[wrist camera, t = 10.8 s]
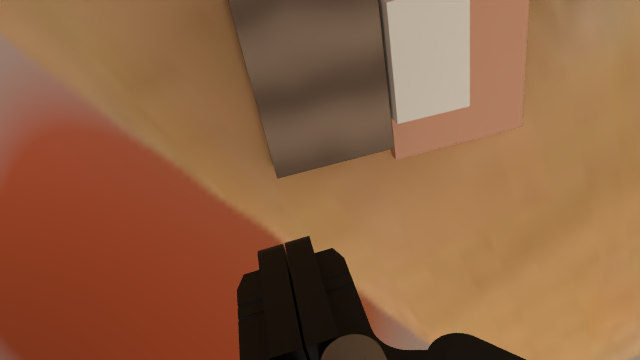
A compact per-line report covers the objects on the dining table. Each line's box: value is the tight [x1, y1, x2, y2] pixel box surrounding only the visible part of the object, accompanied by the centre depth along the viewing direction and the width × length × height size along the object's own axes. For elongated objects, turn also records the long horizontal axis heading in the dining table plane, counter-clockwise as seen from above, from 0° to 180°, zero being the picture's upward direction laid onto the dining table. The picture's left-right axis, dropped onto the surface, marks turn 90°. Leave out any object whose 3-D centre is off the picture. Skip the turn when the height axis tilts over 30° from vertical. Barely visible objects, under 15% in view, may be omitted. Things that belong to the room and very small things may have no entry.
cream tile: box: [378, 0, 470, 124], centre depth 32 cm, size 9×6×2 cm, turn 11°
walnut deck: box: [228, 0, 394, 179], centre depth 32 cm, size 14×10×2 cm
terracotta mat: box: [391, 0, 529, 160], centre depth 34 cm, size 18×12×1 cm, turn 11°
